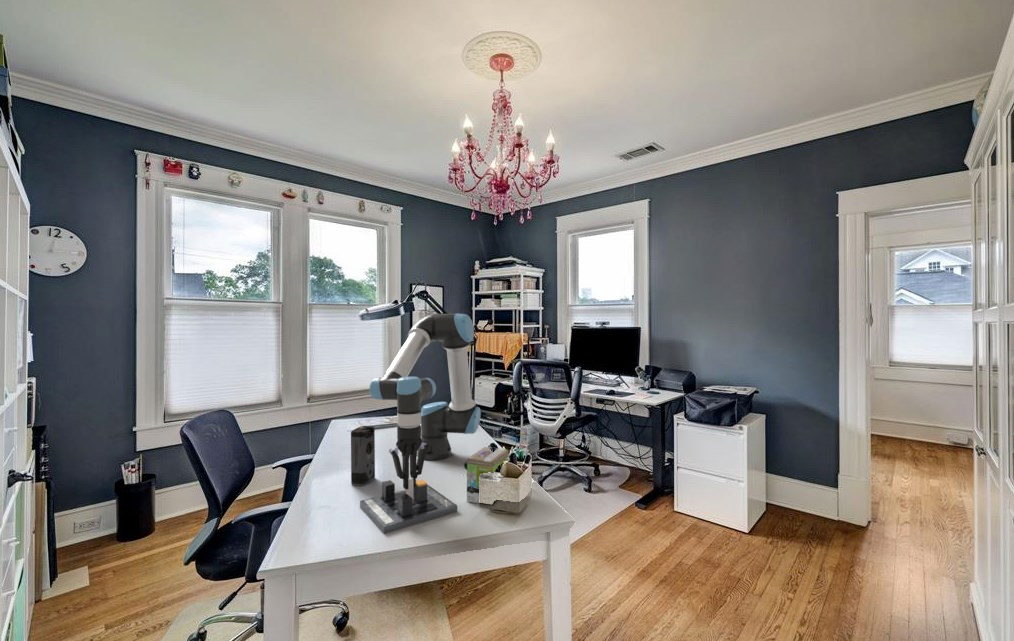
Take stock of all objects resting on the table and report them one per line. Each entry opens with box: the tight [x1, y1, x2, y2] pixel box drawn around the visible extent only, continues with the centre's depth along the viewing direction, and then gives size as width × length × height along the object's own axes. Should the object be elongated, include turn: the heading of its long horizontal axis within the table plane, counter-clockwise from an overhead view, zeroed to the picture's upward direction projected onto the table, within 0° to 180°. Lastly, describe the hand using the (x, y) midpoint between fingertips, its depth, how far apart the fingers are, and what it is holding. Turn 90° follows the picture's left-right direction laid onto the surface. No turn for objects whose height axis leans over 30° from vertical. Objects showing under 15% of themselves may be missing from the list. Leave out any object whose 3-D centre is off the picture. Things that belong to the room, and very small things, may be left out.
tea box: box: [466, 446, 510, 504], centre depth 153 cm, size 15×10×15 cm
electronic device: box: [350, 425, 376, 487], centre depth 167 cm, size 9×6×20 cm, turn 168°
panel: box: [359, 479, 458, 535], centre depth 143 cm, size 24×22×7 cm
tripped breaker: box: [413, 478, 428, 502], centre depth 145 cm, size 3×4×6 cm
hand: (409, 497), depth 143 cm, fingers closed
